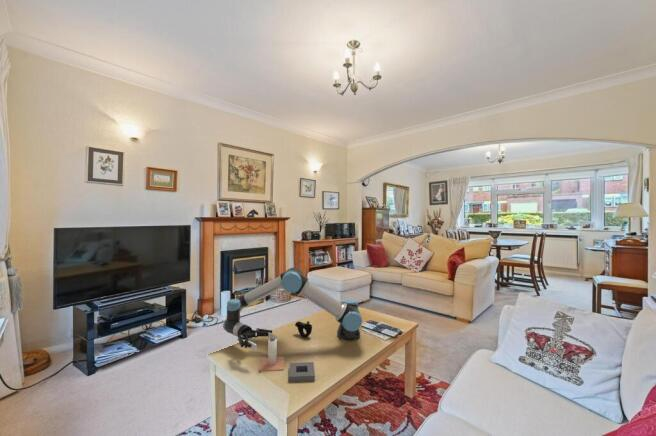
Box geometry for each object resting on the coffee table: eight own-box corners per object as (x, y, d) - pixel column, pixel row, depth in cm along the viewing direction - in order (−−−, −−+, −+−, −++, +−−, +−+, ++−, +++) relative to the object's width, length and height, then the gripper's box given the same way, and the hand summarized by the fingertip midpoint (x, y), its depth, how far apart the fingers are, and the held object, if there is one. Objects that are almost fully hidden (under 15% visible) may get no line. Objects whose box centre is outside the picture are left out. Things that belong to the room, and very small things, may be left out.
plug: (277, 360, 145) (277, 335, 145) (276, 365, 141) (276, 338, 141) (268, 361, 145) (268, 335, 145) (267, 365, 140) (267, 339, 140)
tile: (284, 358, 150) (284, 356, 150) (283, 371, 138) (283, 369, 138) (262, 359, 148) (262, 357, 148) (258, 372, 136) (259, 370, 136)
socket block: (313, 367, 141) (313, 362, 141) (314, 382, 129) (314, 375, 129) (289, 368, 140) (289, 362, 140) (288, 383, 128) (289, 376, 128)
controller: (309, 339, 173) (309, 323, 172) (293, 334, 179) (294, 319, 179) (313, 337, 176) (313, 321, 176) (298, 332, 183) (298, 317, 183)
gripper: (260, 330, 168) (284, 341, 155) (222, 345, 149) (246, 359, 135) (260, 318, 168) (284, 328, 155) (222, 331, 149) (246, 344, 135)
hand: (266, 342), depth 145 cm, fingers open, 13 cm apart
